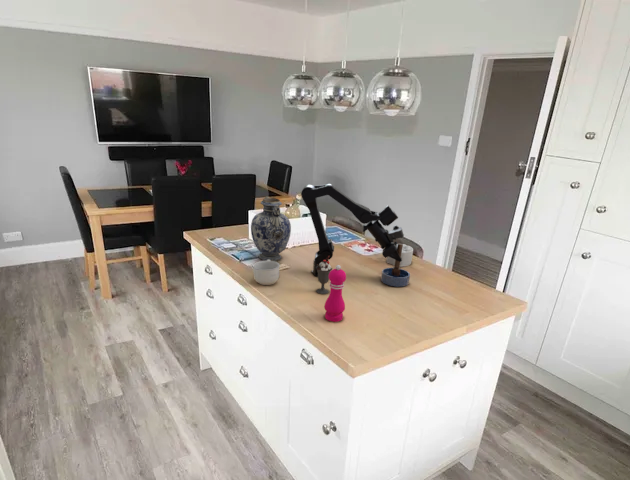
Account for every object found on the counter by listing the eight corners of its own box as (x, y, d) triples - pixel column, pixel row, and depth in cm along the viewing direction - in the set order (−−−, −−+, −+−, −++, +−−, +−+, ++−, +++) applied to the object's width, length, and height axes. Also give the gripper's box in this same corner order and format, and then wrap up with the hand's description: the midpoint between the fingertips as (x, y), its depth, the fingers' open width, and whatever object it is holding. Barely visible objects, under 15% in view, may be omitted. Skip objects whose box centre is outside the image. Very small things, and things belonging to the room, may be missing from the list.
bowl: (388, 288, 177) (389, 278, 175) (376, 277, 187) (377, 268, 185) (413, 286, 180) (415, 277, 179) (400, 276, 191) (402, 267, 189)
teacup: (274, 289, 168) (274, 270, 164) (248, 285, 169) (248, 266, 166) (284, 277, 180) (284, 259, 177) (260, 273, 182) (260, 256, 179)
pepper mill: (322, 313, 151) (326, 261, 143) (342, 313, 152) (347, 261, 144) (324, 322, 145) (328, 268, 136) (345, 322, 145) (350, 269, 137)
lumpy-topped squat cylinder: (383, 261, 208) (385, 244, 205) (400, 257, 216) (402, 241, 213) (399, 267, 201) (402, 250, 198) (416, 263, 209) (419, 246, 206)
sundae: (332, 290, 171) (335, 255, 165) (327, 296, 165) (330, 260, 159) (317, 287, 173) (319, 252, 166) (311, 292, 167) (314, 257, 161)
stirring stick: (397, 276, 182) (402, 245, 176) (390, 274, 184) (394, 243, 178) (401, 274, 185) (406, 244, 179) (393, 272, 186) (398, 242, 181)
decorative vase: (295, 263, 196) (298, 204, 185) (257, 266, 189) (257, 205, 178) (282, 249, 214) (283, 194, 202) (246, 251, 207) (246, 194, 195)
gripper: (394, 226, 166) (418, 256, 170) (393, 216, 183) (414, 243, 187) (372, 243, 170) (395, 271, 174) (373, 231, 187) (394, 257, 191)
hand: (401, 260), depth 181 cm, fingers closed on stirring stick, 2 cm apart
